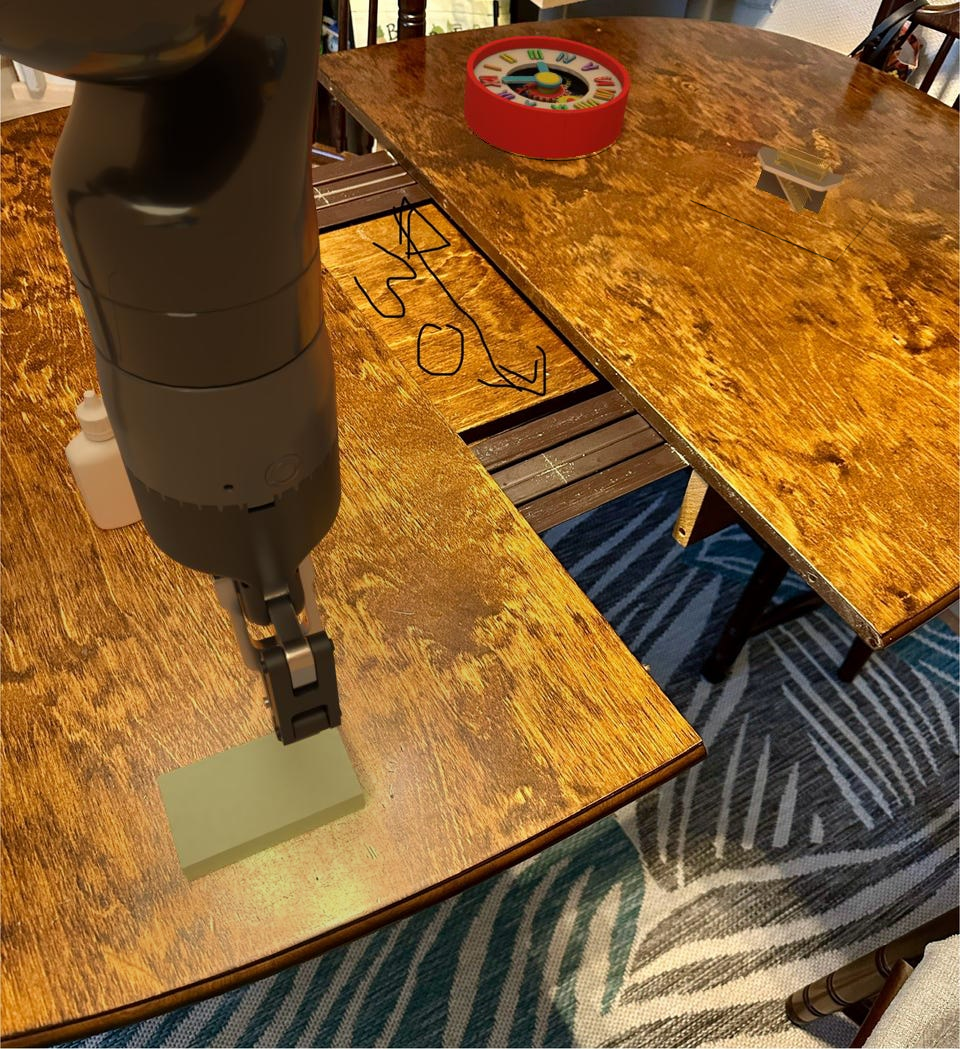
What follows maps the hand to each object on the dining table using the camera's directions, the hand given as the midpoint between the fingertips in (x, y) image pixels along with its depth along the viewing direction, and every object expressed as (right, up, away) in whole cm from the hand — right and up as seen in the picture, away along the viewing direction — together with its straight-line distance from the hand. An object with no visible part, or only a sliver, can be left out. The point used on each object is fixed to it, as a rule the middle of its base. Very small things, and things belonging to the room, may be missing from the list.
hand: (272, 655), depth 44 cm
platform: (+45, +43, +61) cm, 87 cm away
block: (-3, -11, +12) cm, 17 cm away
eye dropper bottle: (-17, +8, +26) cm, 32 cm away
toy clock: (+18, +57, +70) cm, 92 cm away
